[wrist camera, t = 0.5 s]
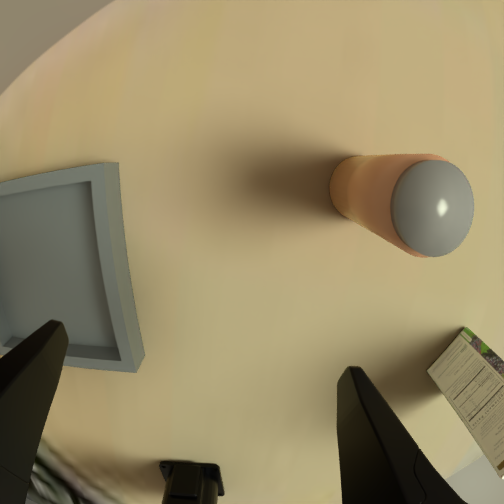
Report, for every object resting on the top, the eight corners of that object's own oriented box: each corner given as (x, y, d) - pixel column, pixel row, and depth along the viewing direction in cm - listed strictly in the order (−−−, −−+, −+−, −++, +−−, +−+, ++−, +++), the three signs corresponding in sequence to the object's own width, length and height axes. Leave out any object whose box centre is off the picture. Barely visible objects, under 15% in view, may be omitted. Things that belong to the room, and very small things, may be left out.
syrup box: (486, 350, 25) (568, 432, 11) (448, 392, 26) (515, 487, 12) (464, 324, 24) (562, 416, 10) (422, 372, 25) (499, 482, 11)
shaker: (388, 220, 22) (472, 260, 12) (329, 221, 22) (389, 265, 12) (389, 157, 20) (479, 159, 11) (328, 155, 20) (393, 149, 11)
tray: (145, 355, 24) (136, 372, 22) (12, 342, 24) (-1, 354, 22) (118, 162, 20) (103, 162, 18) (-21, 189, 20) (-39, 192, 18)
